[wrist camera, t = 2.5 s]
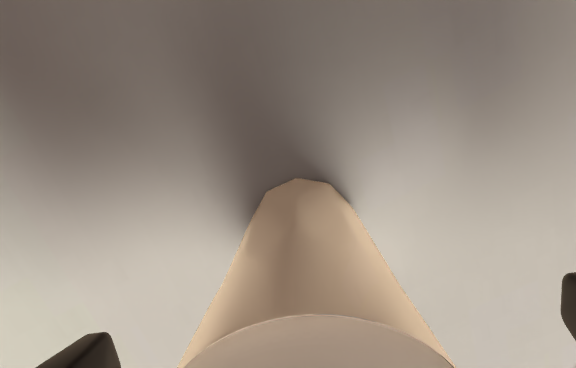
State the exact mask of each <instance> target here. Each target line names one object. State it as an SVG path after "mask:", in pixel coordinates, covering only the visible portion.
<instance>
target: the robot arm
mask: <svg viewBox="0 0 576 368" xmlns="http://www.w3.org/2000/svg"><path fill="white" fill-rule="evenodd" d="M561 316H562V319H563V321H564V323H565V325H566V327H567V328H568V330H569V331H570V333H571V334H572V336H573V337H574V339H575V340H576V272H574V273H568V274H566V275H565V276H564V277H563V280H562V294H561ZM36 368H121V365H120V361H119V358H118V355H117V352H116V349H115V346H114V343H113V340H112V338H111V336H110V335H109V334H108V333H106V332H101V333H93V334H87V335H85V336H83V337H82V338H80V339H79V340H77V341H76V342H74V343H73V344H71V345H70V346H68V347H67V348H65V349H64V350H62V351H60V352H59V353H57V354H56V355H54V356H53V357H51V358H50V359H48V360H47V361H45V362H44V363H42V364H41V365H39V366H37V367H36Z"/></svg>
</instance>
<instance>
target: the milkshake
mask: <svg viewBox="0 0 576 368" xmlns="http://www.w3.org/2000/svg"><path fill="white" fill-rule="evenodd" d="M177 368H456V366H455V365H454V363H453V362H452V360H451V359H450V358H449V356H448V355H447V353H446V352H445V350H444V349H443V347H442V346H441V344H440V343H439V341H438V340H437V338H436V337H435V335H434V334H433V333H432V331H431V330H430V328H429V327H428V325H427V324H426V322H425V321H424V319H423V318H422V316H421V315H420V313H419V312H418V311H417V309H416V308H415V306H414V305H413V303H412V302H411V300H410V299H409V297H408V296H407V294H406V293H405V292H404V290H403V289H402V287H401V286H400V284H399V283H398V281H397V279H396V278H395V276H394V274H393V273H392V271H391V269H390V268H389V266H388V264H387V263H386V261H385V259H384V258H383V256H382V255H381V253H380V251H379V250H378V248H377V246H376V245H375V243H374V241H373V240H372V238H371V237H370V235H369V233H368V232H367V230H366V228H365V227H364V225H363V223H362V222H361V220H360V219H359V217H358V215H357V214H356V212H355V210H354V209H353V207H352V206H351V205H350V204H349V203H348V202H347V201H346V200H345V199H344V198H343V197H342V196H341V195H340V194H339V193H338V192H337V191H336V190H335V189H334V188H333V187H332V186H331V185H330V184H329V183H324V182H318V181H312V180H306V179H301V178H295V179H293V180H291V181H288V182H286V183H284V184H282V185H280V186H278V187H275V188H273V189H271V190H269V191H267V192H266V193H265V195H264V197H263V199H262V201H261V203H260V204H259V206H258V208H257V210H256V212H255V213H254V215H253V217H252V219H251V221H250V223H249V225H248V227H247V230H246V232H245V234H244V236H243V239H242V241H241V243H240V245H239V247H238V250H237V252H236V254H235V256H234V259H233V261H232V263H231V265H230V268H229V270H228V272H227V274H226V276H225V279H224V281H223V283H222V285H221V287H220V288H219V290H218V292H217V293H216V295H215V297H214V298H213V300H212V302H211V304H210V306H209V307H208V309H207V311H206V313H205V315H204V317H203V319H202V321H201V323H200V324H199V326H198V328H197V330H196V332H195V334H194V336H193V338H192V340H191V342H190V344H189V345H188V347H187V349H186V351H185V353H184V355H183V357H182V359H181V361H180V363H179V365H178V367H177Z"/></svg>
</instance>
